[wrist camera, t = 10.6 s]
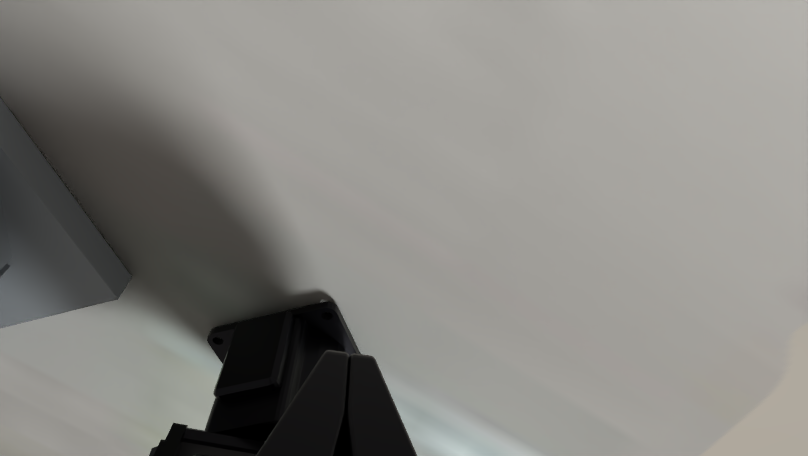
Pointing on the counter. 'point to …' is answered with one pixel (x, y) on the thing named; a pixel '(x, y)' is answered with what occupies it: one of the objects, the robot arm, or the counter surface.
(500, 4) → the counter surface
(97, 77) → the counter surface
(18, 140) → the grey round platform
